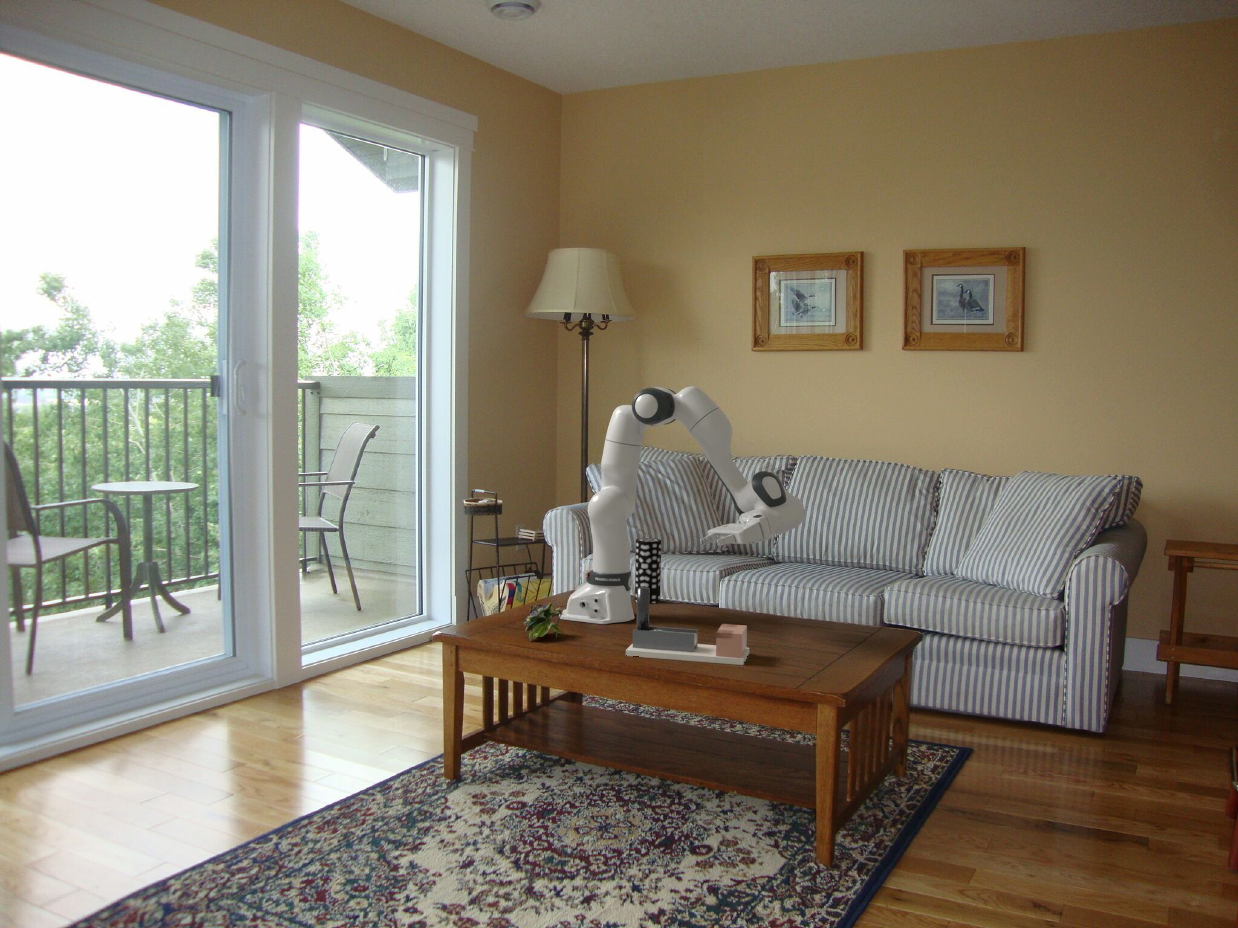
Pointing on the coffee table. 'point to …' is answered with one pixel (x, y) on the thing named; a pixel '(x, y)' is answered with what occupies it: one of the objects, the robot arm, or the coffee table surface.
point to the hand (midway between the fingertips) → (709, 542)
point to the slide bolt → (646, 610)
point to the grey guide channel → (665, 639)
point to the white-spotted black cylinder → (648, 567)
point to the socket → (731, 640)
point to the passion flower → (542, 620)
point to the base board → (688, 654)
